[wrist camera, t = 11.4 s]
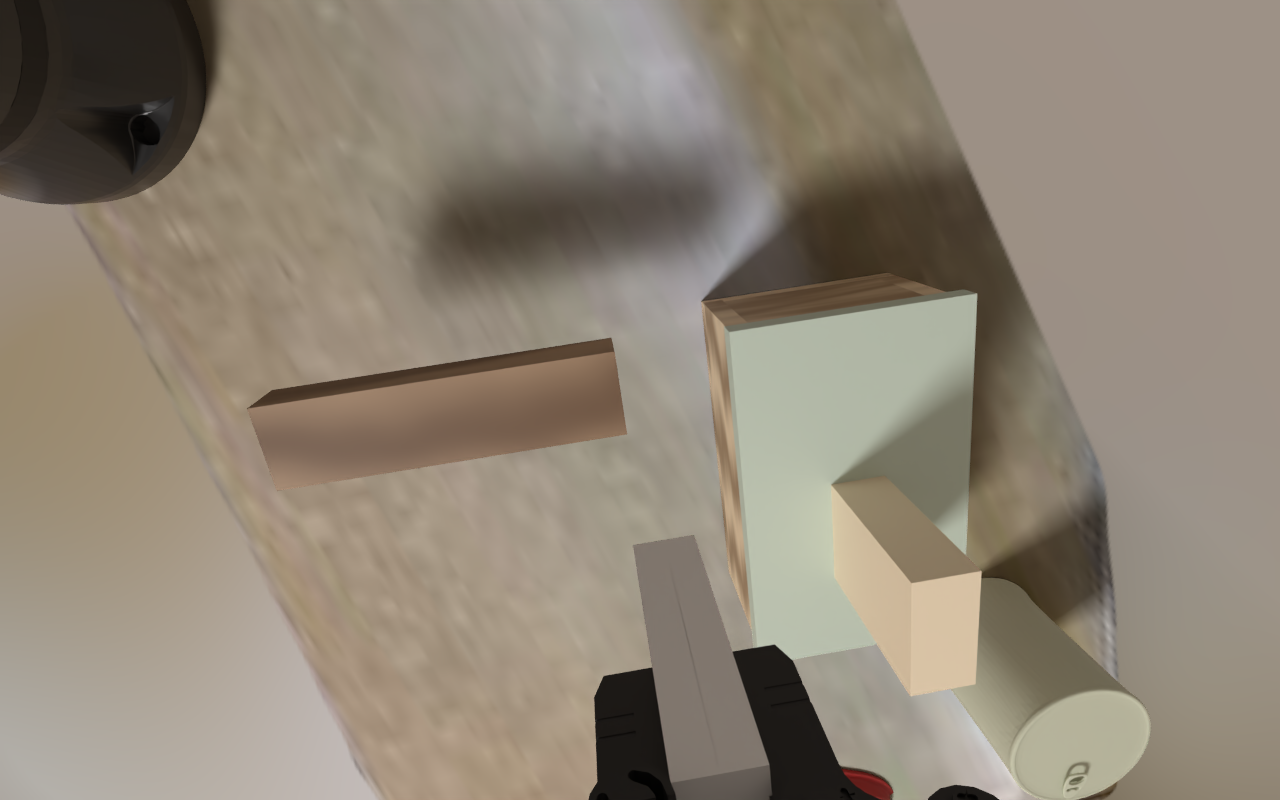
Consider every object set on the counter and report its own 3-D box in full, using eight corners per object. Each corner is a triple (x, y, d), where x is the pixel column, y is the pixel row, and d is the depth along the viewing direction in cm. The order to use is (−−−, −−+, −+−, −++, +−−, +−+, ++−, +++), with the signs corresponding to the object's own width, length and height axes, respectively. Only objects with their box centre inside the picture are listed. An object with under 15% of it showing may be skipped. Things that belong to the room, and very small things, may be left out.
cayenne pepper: (782, 751, 55) (789, 771, 53) (826, 721, 54) (835, 740, 52) (859, 823, 59) (868, 844, 57) (902, 795, 58) (912, 815, 56)
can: (913, 679, 53) (1005, 817, 42) (925, 582, 50) (1028, 703, 39) (1021, 668, 54) (1141, 801, 42) (1040, 571, 51) (1175, 687, 39)
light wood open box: (701, 301, 41) (730, 331, 33) (888, 272, 41) (958, 295, 34) (729, 571, 48) (758, 647, 40) (889, 544, 48) (947, 613, 41)
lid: (723, 326, 33) (785, 390, 24) (963, 289, 34) (1118, 337, 24) (753, 651, 40) (810, 802, 31) (951, 616, 41) (1067, 753, 31)
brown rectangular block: (272, 390, 31) (247, 408, 28) (611, 337, 31) (614, 351, 29) (298, 467, 32) (276, 490, 30) (623, 415, 33) (627, 434, 30)
